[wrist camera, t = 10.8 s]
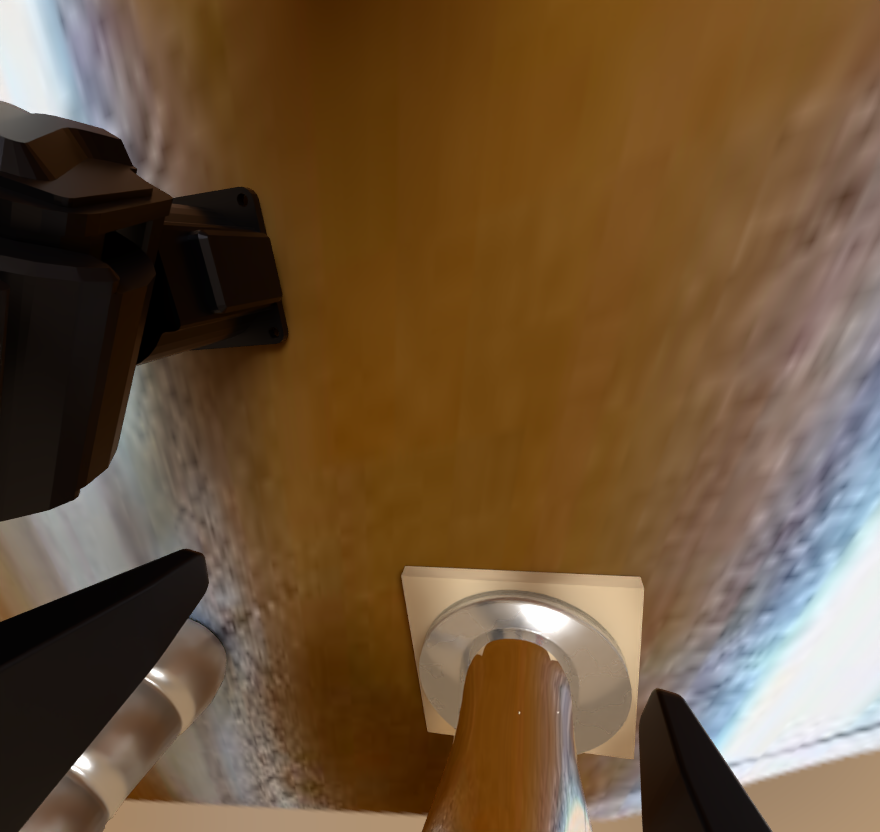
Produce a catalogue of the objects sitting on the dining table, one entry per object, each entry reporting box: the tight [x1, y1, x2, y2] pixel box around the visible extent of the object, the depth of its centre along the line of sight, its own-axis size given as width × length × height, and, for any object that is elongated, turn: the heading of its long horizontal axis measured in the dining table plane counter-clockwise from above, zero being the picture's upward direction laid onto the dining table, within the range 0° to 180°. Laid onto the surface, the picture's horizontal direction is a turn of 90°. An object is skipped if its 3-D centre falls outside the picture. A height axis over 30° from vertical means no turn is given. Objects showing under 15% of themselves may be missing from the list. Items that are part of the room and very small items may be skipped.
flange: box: [419, 590, 632, 755], centre depth 24 cm, size 11×11×1 cm
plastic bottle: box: [19, 619, 227, 832], centre depth 21 cm, size 6×7×20 cm
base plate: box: [401, 566, 644, 759], centre depth 24 cm, size 12×12×1 cm
